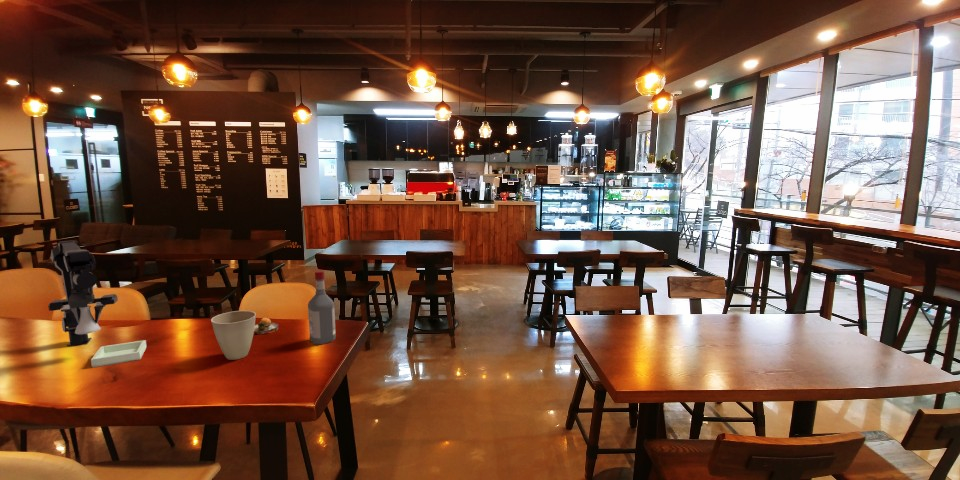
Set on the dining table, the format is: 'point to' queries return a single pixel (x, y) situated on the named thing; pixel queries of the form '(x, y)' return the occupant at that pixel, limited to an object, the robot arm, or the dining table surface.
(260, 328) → the burger
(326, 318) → the liquor
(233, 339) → the plant pot
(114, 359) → the tray
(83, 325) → the flask
